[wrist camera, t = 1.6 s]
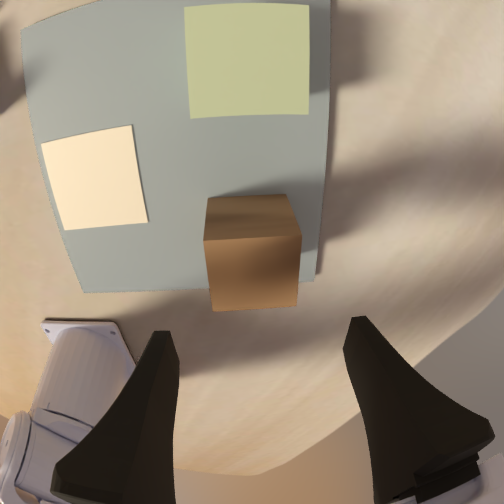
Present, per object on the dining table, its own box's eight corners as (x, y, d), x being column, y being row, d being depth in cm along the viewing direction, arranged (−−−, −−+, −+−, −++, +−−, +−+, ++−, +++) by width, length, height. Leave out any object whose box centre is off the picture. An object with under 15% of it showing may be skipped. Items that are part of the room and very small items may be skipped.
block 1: (287, 99, 15) (308, 114, 11) (200, 102, 15) (190, 118, 11) (287, 18, 12) (309, 5, 9) (195, 20, 12) (183, 7, 9)
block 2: (283, 257, 21) (296, 305, 17) (214, 261, 20) (212, 311, 17) (286, 193, 18) (302, 235, 14) (207, 198, 18) (203, 240, 14)
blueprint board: (312, 276, 23) (314, 282, 22) (86, 287, 22) (83, 294, 21) (326, -14, 12) (330, -16, 11) (25, 29, 11) (19, 29, 10)
